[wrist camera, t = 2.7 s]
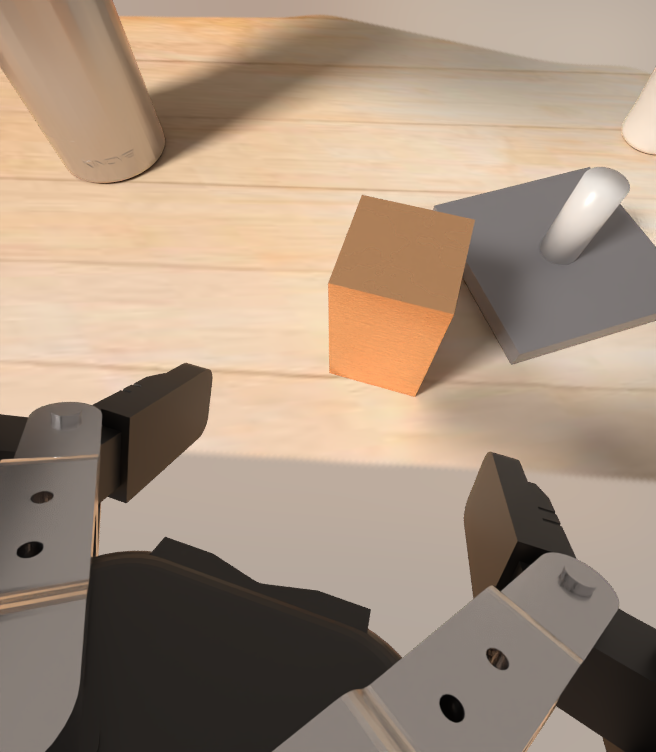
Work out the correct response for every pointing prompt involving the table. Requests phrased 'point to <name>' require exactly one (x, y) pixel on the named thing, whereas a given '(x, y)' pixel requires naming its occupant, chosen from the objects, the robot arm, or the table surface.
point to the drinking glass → (643, 120)
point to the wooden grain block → (394, 292)
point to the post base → (547, 287)
